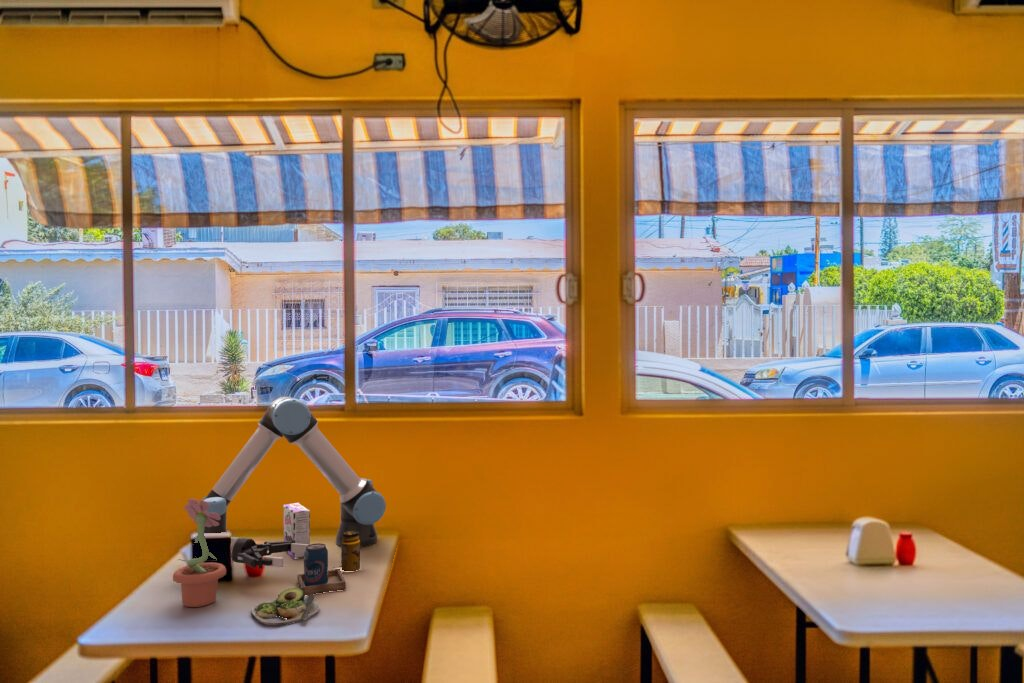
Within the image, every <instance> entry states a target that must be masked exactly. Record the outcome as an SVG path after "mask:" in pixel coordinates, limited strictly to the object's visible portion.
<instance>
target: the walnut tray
mask: <svg viewBox="0 0 1024 683" xmlns="http://www.w3.org/2000/svg"><path fill="white" fill-rule="evenodd" d="M343 575H344V574H342V573H341V571H340V569H335V570H333V569H328V582H327V583H326V584H319V585H312V586H305V584H304V573H299V574H298V573H297V585H298V588H300V589H302V590H303V592H304V594H305V595H309V594H316V593H322V594H324V593H323V592H329V591H336V592H338V591H337V590H343V591H345V590H344V589H346V587H347V586H346V583H347V582H346V580H345V579H346V578H344V576H343ZM346 590H347V589H346ZM329 593H330V592H329ZM316 595H317V594H316Z"/></svg>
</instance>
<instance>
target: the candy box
mask: <svg viewBox="0 0 1024 683" xmlns="http://www.w3.org/2000/svg"><path fill="white" fill-rule="evenodd" d="M282 509H283V511H282V512H283V541H292V540H294V541H295V543H296V544H307V545H310V544H311V543H310V540H311V539H310V537H311V536H310V535H311V534H310V533H311V530H310V528H311V526H310V525H311V520H310V518H311V517H310V516H311V512H310V511H311V510H310V509H309V508H307V507H305V506H304V505H302V504H301V503H300V502H294V503H287V504H283V508H282ZM286 553H287V555H288V556H290V557H291V559H293V560H296V559H295V558H299V559H302V558H301V557H304V553H294V552H291V551H288V552H286Z"/></svg>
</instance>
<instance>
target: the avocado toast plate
mask: <svg viewBox="0 0 1024 683" xmlns="http://www.w3.org/2000/svg"><path fill="white" fill-rule="evenodd" d="M277 596H278V597H276V599H274V600H269V601H263V602H260V603H257V604H255V605H254V606H252V607H251V609H250V614H251V617H253V619H256V620H257V621H258V622H259V623H262V624H264V625H266V626H268V627H269V626H270V627H271V626H272V627H279V626H286V625H287V624H288V625H291V624H294V623H293V622H295V623H298V622H297V621H300V622H303V621H308V619H309V618H310V617H312V616H313V615H315V614H317V613H318V612H319V611H320V610H321V605H319V603H317V602H316V601H314V599H315V595H313V594H309V595H308V596H305V594H304V592H303V590H302V589H300V588H299V587H291V588H288V589H285V590H282V591H281V592H280V593H279V594H278V595H277ZM276 616H277V617H276ZM279 616H280V617H283V618H287V620H285V619H283V620H279V621H278V620H276V621H273V620H266V619H271V618H270V617H272V618H280V617H279ZM262 618H263V619H262ZM290 623H291V624H290Z"/></svg>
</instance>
